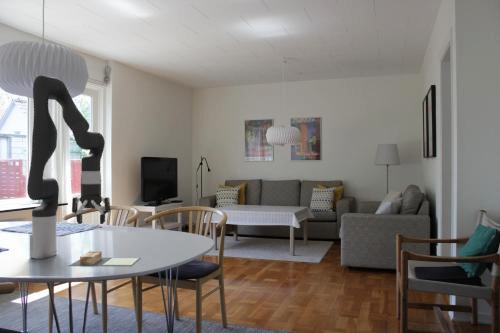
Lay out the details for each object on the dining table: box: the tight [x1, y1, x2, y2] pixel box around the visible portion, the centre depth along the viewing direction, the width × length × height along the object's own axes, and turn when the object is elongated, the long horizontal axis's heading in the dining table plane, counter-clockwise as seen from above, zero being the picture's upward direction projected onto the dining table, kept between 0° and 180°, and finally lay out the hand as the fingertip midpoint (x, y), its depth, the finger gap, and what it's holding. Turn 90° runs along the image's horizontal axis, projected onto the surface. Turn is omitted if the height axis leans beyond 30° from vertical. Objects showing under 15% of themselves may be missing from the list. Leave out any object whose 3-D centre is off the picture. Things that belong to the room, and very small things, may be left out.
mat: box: [68, 257, 142, 268], centre depth 164 cm, size 24×14×1 cm, turn 90°
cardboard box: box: [79, 250, 103, 265], centre depth 164 cm, size 5×9×3 cm, turn 0°
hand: (91, 223), depth 164 cm, fingers open, 8 cm apart
